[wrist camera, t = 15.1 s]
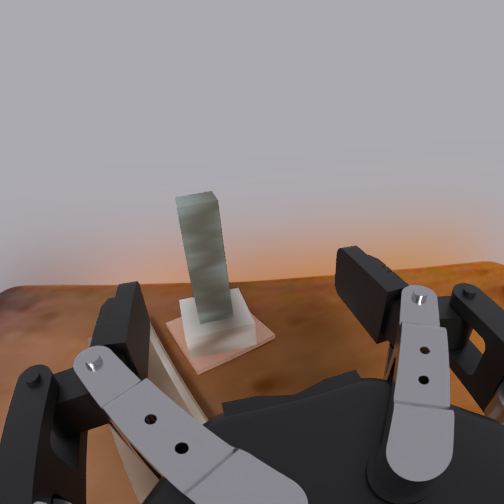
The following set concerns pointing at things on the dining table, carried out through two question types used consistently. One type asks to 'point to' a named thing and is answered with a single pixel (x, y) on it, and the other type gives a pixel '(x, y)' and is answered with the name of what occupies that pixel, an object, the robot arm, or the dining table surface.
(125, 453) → the grey-brown board
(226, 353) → the end pad
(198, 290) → the tall grey square pillar
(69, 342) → the dining table surface
